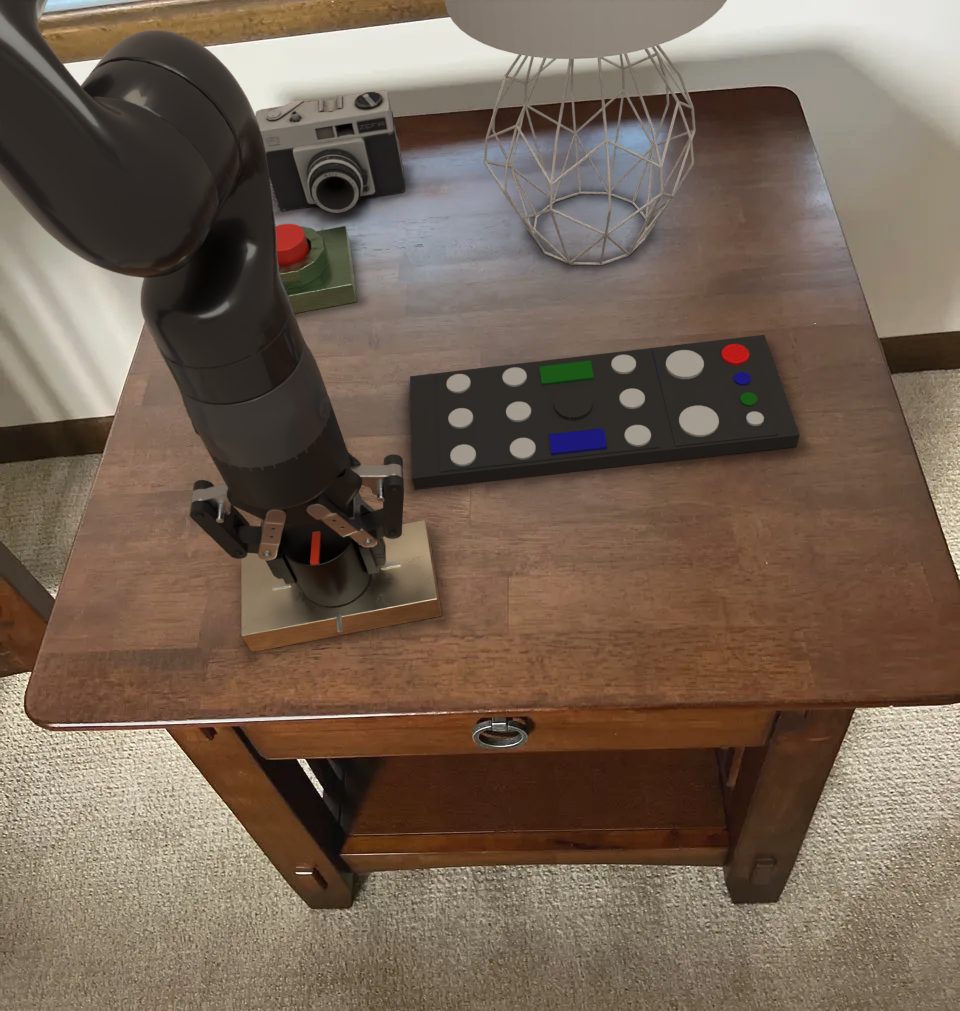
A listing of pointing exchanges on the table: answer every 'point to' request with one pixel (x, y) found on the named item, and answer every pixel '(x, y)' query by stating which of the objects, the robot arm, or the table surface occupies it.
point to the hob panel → (385, 602)
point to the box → (321, 272)
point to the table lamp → (572, 35)
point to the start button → (290, 244)
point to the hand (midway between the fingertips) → (332, 567)
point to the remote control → (598, 412)
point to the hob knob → (325, 564)
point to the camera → (332, 151)
